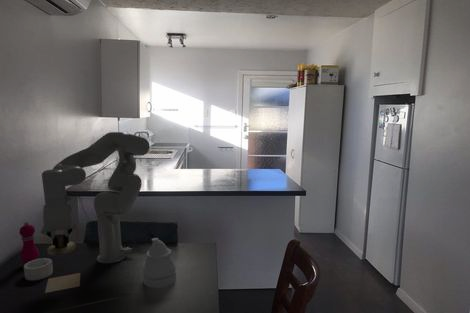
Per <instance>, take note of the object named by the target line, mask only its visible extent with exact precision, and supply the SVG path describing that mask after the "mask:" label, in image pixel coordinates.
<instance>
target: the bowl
mask: <svg viewBox="0 0 470 313" xmlns="http://www.w3.org/2000/svg"><path fill="white" fill-rule="evenodd" d="M23 271H24V272H23V273H24V278H25V280H27V281H39V280H42V279H45V278H48V277H50V276H51V275H52V274H53V272H54V271H53V259H51V258H48V257H47V258H46V257H44V258H38V259H35V260H32V261H30V262H28V263H26V264H25V265H24V267H23Z"/></svg>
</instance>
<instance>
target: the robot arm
mask: <svg viewBox="0 0 470 313" xmlns="http://www.w3.org/2000/svg"><path fill="white" fill-rule="evenodd" d="M150 148H151V147H150V143H149V141H148V139H146V138H145V137H143V136H138V135H136V134H132V133H128V132H124V131H122V132H121V131H119V132H118V131H110V132H107V133H105V134H104V135H102V137H100V138H99V139H98V140H96V141H95V142H94V143H93V144H91V145H89V146H88V147H86V148H84V149H82V150H79V151H77V152H75V153H73V154H70V155H68V156H66V157H65V158H63V159H62V160H61V161H59V162H58V163H56V164H55V165H54V166H53V168H52V169H51V168H50V169H47V170H43V172H42V173H41V181H42V187H43V189H42V190H43V196H44V205H43V210H42V218H43V220H42V221H43V226H42V228H41V230H40V234H43V235H44V236H45V235H46V236H48V237H49V238H51V240H52V245H53V246H55V248H57V247H58V246H57V238H56V235H57V234H56V231H57V232H58V231H61V230H63V232H64V233H63V234H64V243H65V246H67V243H69V242H70V238H69V235H70V234H71V233H72V232H73V231H75V230H76V229H78V224H77V223H76V221H75V220H74V217H73V211H72V207H71V203H70V202H69V201H71V199H72V196H67V189H66V187H68V186H69V187H70V186H77V185H79V184H81V183H83V182H84V181H85V179H86V176H87V174H86V171H85V169H84V168H88V167H92V166H96V165H100V164H101V163H103V162H105V161H106V160H107V159H108V158H109V157H110V156H111V155H112V154H114V153H115V152H117V154H118V158H119V159H118V164H117V166H116V167H115V169H114V171H113V172H112V174H111V176H110V178H109V179H108V183H107V188H108V189H109V190H110V191H102V192H99V193H97V195H96V196H95V197H94V198H93V199H94V200H93V207H94V211H95V215H96V220H97V232H98V243H99V255H98V256H97V257H96V261H97V262H98V263H100V264H113V263H119V262H121V261H123V260H124V259H125V258H126V256H127V255H126V254H127V253H128V254H129V253H133V248H132V247H128V246H127V247H123V245H122V235H121V222H120V217H119V216H123V215H126V214H128V213H129V212H130V211H131V209H132V207H133V205H134V203H135V201H136V199H137V198H138V196H139V193H140V191H141V190H142V189H141V188H142V185H143V184H142V179H141V176H140V175H139V174H137V173H135V171H136V169H137V163H136V160H135V157H134V156H144V155H145V156H146V155H147V154H148V152H149V151H150Z"/></svg>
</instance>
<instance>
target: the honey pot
mask: <svg viewBox="0 0 470 313" xmlns="http://www.w3.org/2000/svg"><path fill="white" fill-rule="evenodd" d="M151 242H152V245H151V247H150V249H149V250H148V251H147V252H146V253H145V257H146V259H145V261H144V262H145V263H144V265H143V269H142V273H143V274H142V275H143V277H142V278H143V284H144V285H145V286H146V287H148V288H151V289H160V288H165V287H169V286H170V285H172V284H174V283H175V282H176V280H177V270H176V263H175V262H174V260H173V256H172V250H171V249H170V248H168V247H167V245H166V244H165V243H164V242H163V241H162V240H160V239H159V238H158V237H154V238H151Z"/></svg>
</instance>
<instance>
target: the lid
mask: <svg viewBox="0 0 470 313" xmlns="http://www.w3.org/2000/svg"><path fill="white" fill-rule="evenodd" d="M55 235H56V238H57V246H58V247H57V248H55V246H53V244H52V245H50V246H48V247H47V249H46V250H47V254H48V255H49V256H60V255H64V254H69V253H71V252H73V251H74V250H76V247H77V246H76V243H75V242H74V241H69V243H67V246H65V243H64V235H65V233H62V232H61V233H57V234H55Z"/></svg>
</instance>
